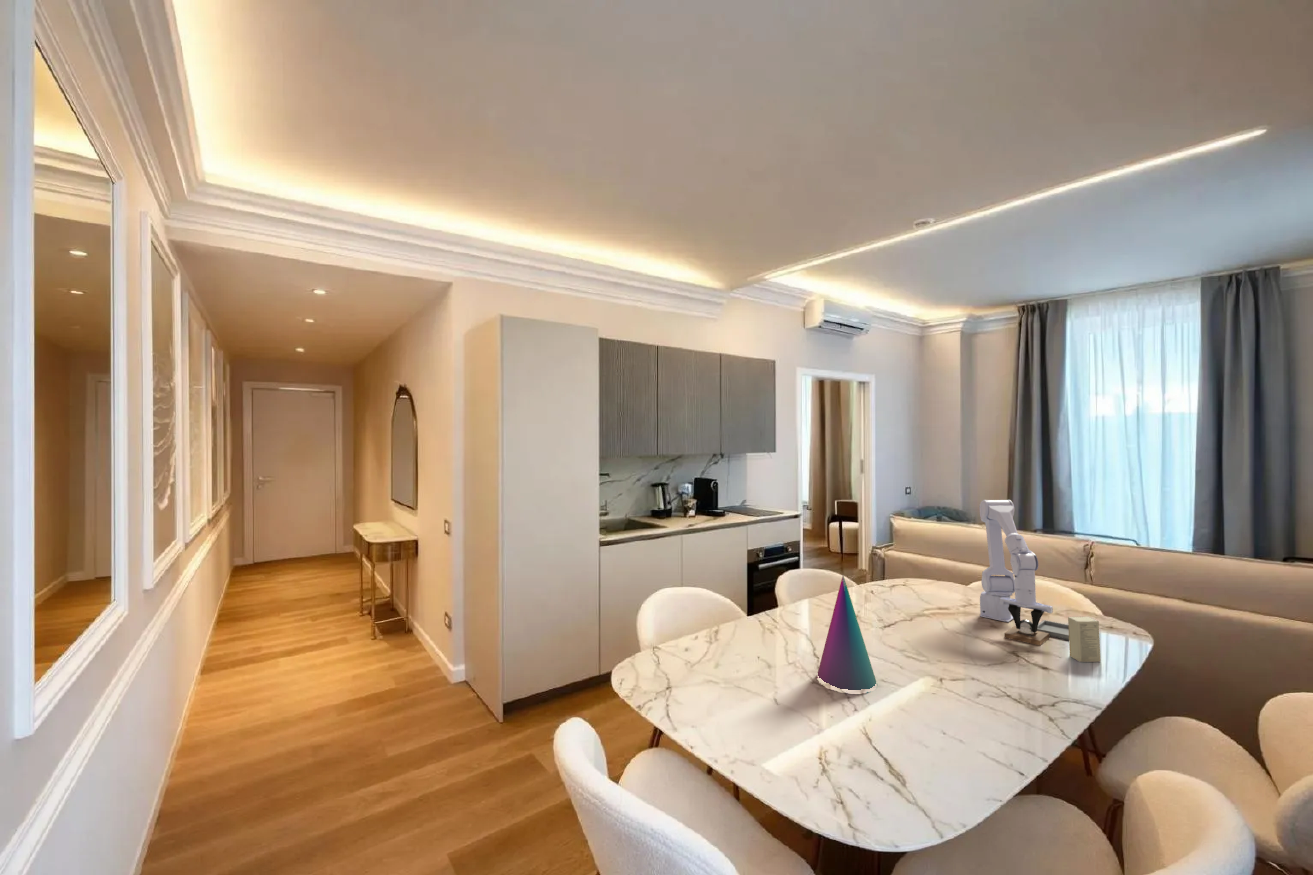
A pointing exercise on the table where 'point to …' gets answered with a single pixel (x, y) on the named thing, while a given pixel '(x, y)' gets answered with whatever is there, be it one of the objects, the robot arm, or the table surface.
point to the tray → (1054, 629)
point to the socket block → (1037, 639)
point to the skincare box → (1084, 639)
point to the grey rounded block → (1026, 628)
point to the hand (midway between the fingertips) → (1026, 629)
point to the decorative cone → (845, 648)
